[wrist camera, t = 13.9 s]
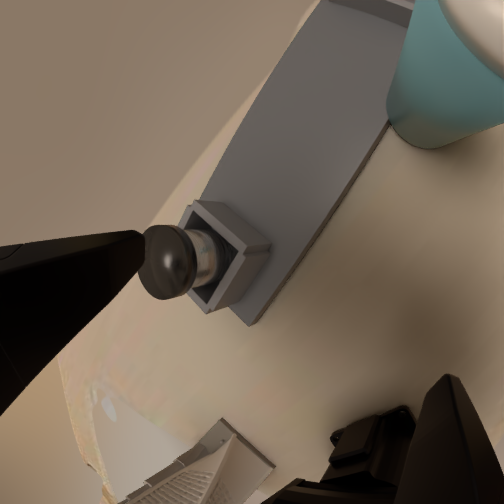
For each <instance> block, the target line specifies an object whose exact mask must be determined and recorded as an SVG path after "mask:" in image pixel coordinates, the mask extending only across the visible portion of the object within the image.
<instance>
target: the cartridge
mask: <svg viewBox="0 0 504 504" xmlns="http://www.w3.org/2000/svg"><path fill="white" fill-rule="evenodd" d="M386 110H387V115H388V118H389V121H390V123H391V125H392V126H393V128H394V129H395V131H396V132H397V133H398V134H399V135H400V136H401V137H402V138H403V139H404V140H405V141H407V142H408V143H410V144H412V145H414V146H417V147H420V148H425V149H434V148H438V147H441V146H444V145H447V144H449V143H452V142H454V141H457V140H459V139H462V138H465V137H467V136H470V135H473V134H475V133H478V132H481V131H483V130H486V129H489V128H491V127H494V126H497V125H499V124H502V123H504V0H415V4H414V8H413V12H412V16H411V19H410V23H409V27H408V30H407V34H406V37H405V40H404V44H403V47H402V51H401V54H400V57H399V60H398V64H397V67H396V70H395V73H394V76H393V79H392V82H391V85H390V88H389V91H388V94H387V98H386Z"/></svg>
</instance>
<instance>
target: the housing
mask: <svg viewBox="0 0 504 504" xmlns="http://www.w3.org/2000/svg"><path fill="white" fill-rule="evenodd" d="M414 4H415V0H321V1H320V2H319V4H318V5H317V6H316V8H315V9H314V11H313V12H312V13H311V15H310V16H309V18H308V19H307V20H306V22H305V23H304V25H303V26H302V28H301V29H300V31H299V32H298V33H297V35H296V36H295V38H294V39H293V41H292V42H291V44H290V45H289V47H288V48H287V50H286V51H285V53H284V54H283V56H282V58H281V59H280V61H279V62H278V64H277V65H276V67H275V68H274V70H273V72H272V73H271V75H270V76H269V78H268V79H267V81H266V83H265V84H264V86H263V87H262V89H261V91H260V92H259V94H258V96H257V97H256V99H255V101H254V102H253V104H252V106H251V107H250V109H249V111H248V112H247V114H246V116H245V117H244V119H243V121H242V123H241V124H240V126H239V128H238V129H237V131H236V133H235V135H234V136H233V138H232V140H231V142H230V143H229V145H228V147H227V149H226V151H225V152H224V154H223V156H222V158H221V160H220V161H219V163H218V165H217V167H216V169H215V171H214V173H213V174H212V176H211V178H210V180H209V182H208V184H207V186H206V188H205V189H204V191H203V193H202V195H201V197H200V199H199V200H194V201H193V203H192V205H187V207H186V209H185V211H184V214H183V216H182V218H181V220H180V222H179V224H178V227H180V228H181V229H183V230H192V229H215V230H216V231H217V232H218V233H219V234H220V235H221V236H223V237H224V238H225V239H226V240H227V241H228V242H229V243H230V244H231V245H233V246H234V247H235V248H236V249H237V250H238V251H239V252H238V254H237V255H236V257H235V259H234V260H233V262H232V264H231V265H230V267H229V269H228V270H227V272H226V274H225V275H224V277H223V279H222V280H221V281H219V282H215V283H211V284H206V285H202V286H198V287H194V288H190V290H189V291H188V292H187V294H188V295H189V297H190V298H191V299H192V300H193V301H194V302H195V303H196V304H197V305H198V306H199V307H200V308H201V310H202V311H203V312H204V313H205V314H208V313H211V312H214V311H217V310H219V309H222V308H225V307H229V308H230V309H231V310H232V311H233V312H234V313H235V314H236V315H237V316H238V317H239V318H240V319H241V320H242V321H243V322H244V323H245V324H246V325H247V326H248V327H250V326H252V325H253V324H255V323H256V322H257V321H258V320H259V318H260V317H261V316H262V314H263V313H264V312H265V310H266V309H267V307H268V306H269V305H270V303H271V302H272V301H273V299H274V298H275V296H276V295H277V294H278V292H279V291H280V289H281V288H282V287H283V285H284V284H285V282H286V281H287V280H288V278H289V277H290V275H291V274H292V273H293V271H294V270H295V268H296V267H297V265H298V264H299V263H300V261H301V260H302V258H303V257H304V255H305V254H306V253H307V251H308V250H309V248H310V247H311V245H312V244H313V242H314V241H315V239H316V238H317V237H318V235H319V234H320V232H321V231H322V229H323V228H324V226H325V225H326V223H327V222H328V220H329V219H330V217H331V216H332V214H333V213H334V211H335V210H336V208H337V207H338V205H339V204H340V202H341V201H342V199H343V198H344V196H345V195H346V193H347V192H348V190H349V189H350V187H351V185H352V184H353V182H354V181H355V179H356V178H357V176H358V175H359V173H360V172H361V170H362V168H363V167H364V165H365V164H366V162H367V161H368V159H369V157H370V156H371V154H372V153H373V151H374V149H375V148H376V146H377V145H378V143H379V141H380V140H381V138H382V136H383V135H384V133H385V132H386V130H387V128H388V127H389V125H390V121H389V118H388V115H387V110H386V98H387V94H388V91H389V88H390V85H391V82H392V79H393V76H394V73H395V70H396V67H397V64H398V60H399V57H400V54H401V51H402V47H403V44H404V40H405V37H406V34H407V30H408V27H409V23H410V19H411V16H412V12H413V8H414Z"/></svg>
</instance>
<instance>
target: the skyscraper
mask: <svg viewBox="0 0 504 504" xmlns="http://www.w3.org/2000/svg"><path fill="white" fill-rule="evenodd" d="M173 462H174V463H172V464H171V465H169V466H168V467H166V468H165V469H163V470H161V471H160V472H158V473H157V474H155V475H153V476H152V477H150V478H149V479H147V480H145V481H144V482H143V483H144V484H145V485H144V486H143V487H141V488H139V489H138V490H136V491H134V492H133V493H131V494H129V495H128V496H126V498H127V499H126V500H124V501H122V502H120V503H118V504H125V503H126V504H243V503H244V502H245V501H246V500H247V499H248V498H249V497H250V496H251V495H252V493H253V492H254V491H255V490H256V489H257V488H258V487H259V486H260V485H261V483H262V482H263V481H264V480H265V479H266V478H267V476H268V475H269V474H270V473H271V472H272V470H273V469H274V468H275V467H276V466H275V465H274V464H272V463H271V462H270V461H269V460H268V459H267V458H265V457H264V456H263V455H262V454H261V453H260V452H259V451H257V450H256V449H255V448H254V447H253V446H252V445H251V444H250V443H248V442H247V441H246V440H245V439H244V438H243V437H242V436H241V435H240V434H239V433H238V432H237V431H236V430H234V429H233V428H232V427H231V426H230V425H229V424H228V423H227V422H226V421H225V420H224V419H223V418H221V419H220V420H219V421H218V422H217V423H216V424H215V425H214V426H213V427H212V428H211V429H210V430H209V431H208V432H207V434H206V435H205V436H204V437H203V438H202V439H201V440H200V441H199V442H198V443H197V444H196V445H195V446H194V447H193V448H192V449H190V450H189V451H187V452H186V453H184V454H182V455H181V456H179V457H178V458H176V459H175V460H174V461H173ZM127 502H128V503H127Z"/></svg>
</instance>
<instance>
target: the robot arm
mask: <svg viewBox="0 0 504 504" xmlns="http://www.w3.org/2000/svg"><path fill="white" fill-rule="evenodd" d="M145 247H146V239H145V236H144V235H143V234H141V233H139V232H137V231H135V230H126V231H117V232H108V233H101V234H91V235H84V236H75V237H67V238H59V239H52V240H45V241H37V242H30V243H25V244H16V245H8V246H1V247H0V416H1V415H2V414H3V413H4V411H5V410H6V409H7V408H8V407H9V406H10V405H11V403H12V402H13V401H14V400H15V399H16V398H17V397H18V396H19V395H20V394H21V392H22V391H23V390H24V389H25V388H26V387H27V386H28V385H29V383H30V382H31V381H32V380H33V379H34V378H35V377H36V376H37V375H38V374H39V373H40V372H41V371H42V369H43V368H44V367H45V366H46V365H47V364H48V363H49V362H50V361H51V360H52V359H53V358H54V357H55V356H56V355H57V354H58V353H59V352H60V351H61V350H62V349H63V348H64V347H65V346H66V345H67V344H68V343H69V342H70V341H71V340H72V339H73V338H74V337H75V336H76V335H77V334H78V333H79V332H80V331H81V330H82V329H83V328H84V327H85V326H86V325H87V324H88V323H89V322H90V321H91V320H92V319H93V318H94V317H95V316H96V315H97V314H98V313H99V312H100V311H101V310H103V309H104V308H105V307H106V306H107V305H108V304H109V303H110V302H111V301H112V300H113V299H114V298H115V296H116V295H117V294H118V293H119V292H120V291H121V290H122V288H123V287H124V286H125V285H126V284H127V283H128V282H129V280H130V279H131V278H132V277H133V276H134V275H135V274H136V273H137V271H138V270H139V269H140V268H141V267H142V266H143V264H144V262H145ZM401 411H404V412H405V414H401V413H400V412H401ZM335 437H338V438H339V439H337V438H335ZM330 440H331V442H332V444H333V445H334V447H335V449H334V450H333V452H332V454H331V456H330V458H329V460H328V461H329V463H330V465H329V467H328V469H327V470H326V472H325V474H324V475H323V477H322V479H321V480H320V482H319V483H318V482H311V481H305V479H300V478H296V479H295V480H293V481H292V482H291V483H289V484H288V485H286V486H285V487H284V488H282V489H281V490H279V491H278V492H277V493H275V494H274V495H272V496H271V497H269V498H268V499H266V500H265V501H263V502H262V503H261V504H504V474H503V472H502V469H501V467H500V464H499V462H498V459H497V456H496V454H495V452H494V449H493V447H492V445H491V442H490V440H489V438H488V435H487V433H486V431H485V429H484V427H483V424H482V422H481V420H480V418H479V416H478V414H477V412H476V410H475V408H474V406H473V404H472V402H471V400H470V398H469V396H468V394H467V392H466V390H465V388H464V386H463V384H462V383H461V381H460V379H459V378H458V377H456V376H454V375H451V374H444V375H443V376H442V377H441V378H440V379H439V380H438V381H437V382H436V383H435V385H434V386H433V387H432V388H431V389H430V390H429V391H428V392H427V394H426V396H425V398H424V401H423V405H422V409H421V412H420V416H419V419H418V422H417V421H416V420H415V418H414V416H413V414H412V412H411V410H410V409H409V407H408V406H404V405H402V406H399V407H397V408H395V409H393V410H390V411H388V412H386V413H383V414H381V415H373V416H371V417H368V418H366V419H363V420H361V421H358V422H355V423H353V424H350V425H348V426H347V427H346V428H344V429H341V430H339V431H336V432H334V433H332V435H331V437H330Z"/></svg>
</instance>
